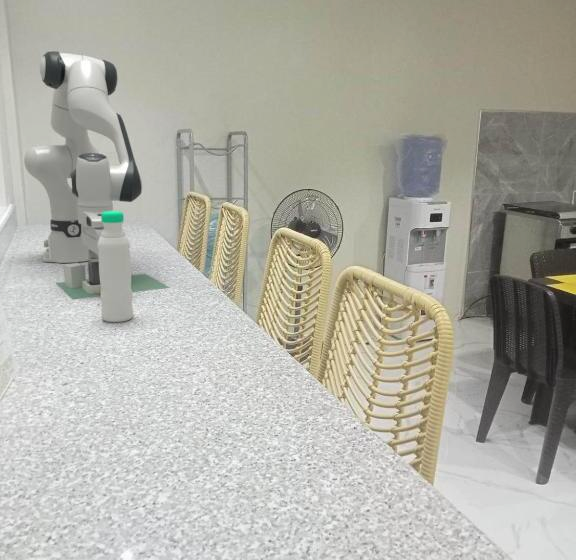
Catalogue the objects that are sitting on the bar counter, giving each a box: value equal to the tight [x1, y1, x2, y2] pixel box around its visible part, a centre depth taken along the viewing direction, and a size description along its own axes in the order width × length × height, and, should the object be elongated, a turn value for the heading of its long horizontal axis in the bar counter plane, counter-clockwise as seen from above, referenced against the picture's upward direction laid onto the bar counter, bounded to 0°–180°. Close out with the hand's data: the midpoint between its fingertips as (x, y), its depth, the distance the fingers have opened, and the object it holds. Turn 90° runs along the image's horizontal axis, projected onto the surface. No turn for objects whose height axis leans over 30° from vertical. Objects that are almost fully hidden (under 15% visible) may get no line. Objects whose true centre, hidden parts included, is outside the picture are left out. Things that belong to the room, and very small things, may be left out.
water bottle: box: [98, 210, 134, 323], centre depth 130 cm, size 7×7×25 cm
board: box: [55, 273, 171, 300], centre depth 159 cm, size 20×26×3 cm
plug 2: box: [87, 258, 100, 285], centre depth 154 cm, size 5×5×8 cm
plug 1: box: [63, 262, 87, 288], centre depth 157 cm, size 5×4×6 cm
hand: (98, 267), depth 153 cm, fingers open, 8 cm apart
